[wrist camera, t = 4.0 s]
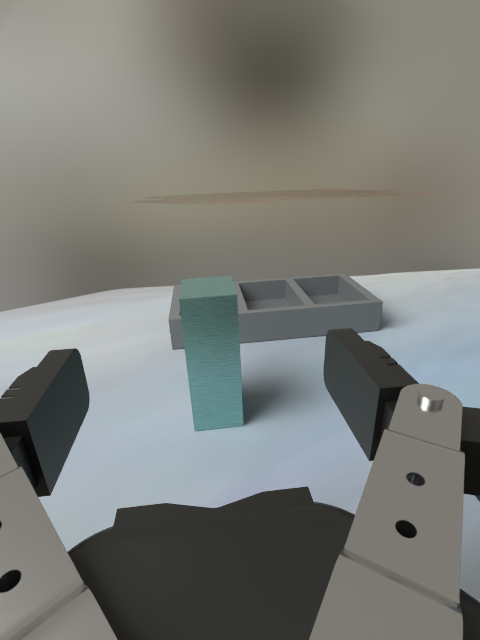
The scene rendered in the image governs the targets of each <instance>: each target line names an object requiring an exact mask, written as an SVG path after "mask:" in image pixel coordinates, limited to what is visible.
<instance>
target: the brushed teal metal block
mask: <svg viewBox="0 0 480 640" xmlns="http://www.w3.org/2000/svg"><path fill="white" fill-rule="evenodd" d="M179 303H180V312H181V320H182V328H183V337H184V345H185V354H186V362H187V370H188V379H189V387H190V396H191V404H192V412H193V421H194V429H195V431H201V430H210V429H219V428H228V427H237V426H244V423H243V402H242V382H241V362H240V342H239V322H238V301H237V293H236V289H235V286H234V283H233V280H232V277H231V276H220V277H207V278H194V279H181V286H180V295H179Z"/></svg>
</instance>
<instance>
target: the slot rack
mask: <svg viewBox="0 0 480 640" xmlns="http://www.w3.org/2000/svg"><path fill="white" fill-rule="evenodd" d="M233 283H234V286H235V289H236V293H237V301H238V322H239V342H240V343H248V342H258V341H269V340H280V339H291V338H302V337H313V336H324V335H327V332H328V330H332V329H345V328H352V329H353V330H354V331H355V332H356V333H357V332H368V331H378V330H379V327H380V319H381V311H382V303H383V302H382V301H381V300H380V299H378V298H377V297H376V296H374V295H373V294H372V293H370V292H369V291H368V290H366V289H365V288H364V287H362V286H361V285H360V284H358V283H357V282H356V281H354V280H353V279H352V278H350V277H349V276H348V275H346V274H345V273H340V274H327V275H313V276H300V277H288V278H274V279H263V280H262V279H261V280H248V281H237V282H236V281H235V282H233ZM179 295H180V286H174V291H173V297H172V303H171V309H170V315H169V326H170V333H171V341H172V348H173V349H182V348H185V345H184V337H183V328H182V320H181V312H180V303H179Z"/></svg>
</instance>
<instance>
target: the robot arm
mask: <svg viewBox="0 0 480 640" xmlns="http://www.w3.org/2000/svg"><path fill="white" fill-rule="evenodd" d="M324 381H325V385H326V388H327V390H328V392H329V393H330V395H331V397H332V399H333V400H334V402H335V404H336V405H337V407H338V409H339V410H340V412H341V414H342V415H343V417H344V419H345V421H346V422H347V424H348V426H349V427H350V429H351V431H352V432H353V434H354V436H355V438H356V439H357V441H358V443H359V444H360V446H361V448H362V449H363V451H364V453H365V454H366V456H367V458H368V460H369V461H373V464H372V467H371V470H370V473H369V476H368V479H367V482H366V485H365V488H364V491H363V494H362V497H361V500H360V503H359V506H358V509H357V512H356V514H355V515H354V514H352V513H350V512H348V511H345V510H343V509H341V508H338V507H335V506H332V505H328V504H323V503H318V502H313V499H312V497H311V494H310V491H309V488H308V487H300V488H292V489H283V490H274V491H266V492H261V493H258V494H255V495H253V496H250V497H247V498H244V499H241V500H239V501H236V502H233V503H230V504H227V505H224V506H222V507H218V508H205V507H196V506H187V505H178V504H169V503H163V504H154V505H146V506H137V507H129V508H120V509H117V513H116V517H115V522H114V526H112V527H110V528H107V529H105V530H102V531H100V532H98V533H96V534H94V535H92V536H91V537H89V538H87V539H85V540H84V541H82V542H81V543H79V544H78V545H76V546H75V547H73V548H72V549H71V550H69V551H68V552H67V551H66V549H65V547H64V545H63V543H62V541H61V540H60V538H59V536H58V534H57V532H56V530H55V528H54V526H53V525H52V523H51V521H50V519H49V517H48V515H47V513H46V511H45V509H44V508H43V506H42V504H41V502H40V500H39V498H38V497H41V496H50V495H51V493H52V491H53V488H54V486H55V484H56V482H57V479H58V477H59V475H60V472H61V470H62V468H63V466H64V463H65V461H66V459H67V457H68V454H69V452H70V450H71V447H72V445H73V443H74V441H75V438H76V436H77V434H78V432H79V429H80V427H81V425H82V423H83V420H84V418H85V416H86V413H87V411H88V408H89V390H88V386H87V381H86V377H85V373H84V368H83V364H82V360H81V356H80V353H79V351H78V350H77V349H63V350H51V351H49V352H48V353H47V355H46V356H45V357H44V359H43V360H42V361H41V362H40V364H39V365H38V366H37V367H32V368H31V369H29V370H28V371H26V372H25V373H23V374H22V375H20V376H19V377H17V379H16V380H15V381H14V382H13V383H12V384H11V386H10V387H9V390H6V392H5V393H4V394H3V395H2V396H1V397H2V398H1V399H0V640H480V602H478V601H477V600H476V599H474V598H473V597H471V596H470V595H469V594H467V593H466V592H464V591H463V590H462V589H460V568H461V543H462V518H463V493H464V494H470V495H475V496H476V497H477V499H478V500H479V501H480V409H479V408H469V407H462V403H461V401H460V400H459V399H458V398H457V397H456V396H455V395H453V394H452V393H450V392H448V391H447V390H444V389H442V388H439V387H436V386H432V385H427V384H419V383H418V382H417V381H416V380H415V379H414V378H413V377H412V376H411V375H409V374H408V373H407V372H406V371H405V370H404V369H403V368H402V367H401V366H400V365H398V363H397V362H396V361H395V360H394V359H393V358H391V356H390V355H389V354H388V353H387V352H386V351H385V350H384V349H383V348H382V347H380V346H377V345H375V344H373V343H371V342H369V341H364V340H363V339H362V338H361V337H360V336H359V335H358V334H357V333H356V332H355V331H354V330H353V329H352V328H345V329H332V330H328V332H327V335H326V345H325V359H324Z"/></svg>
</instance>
